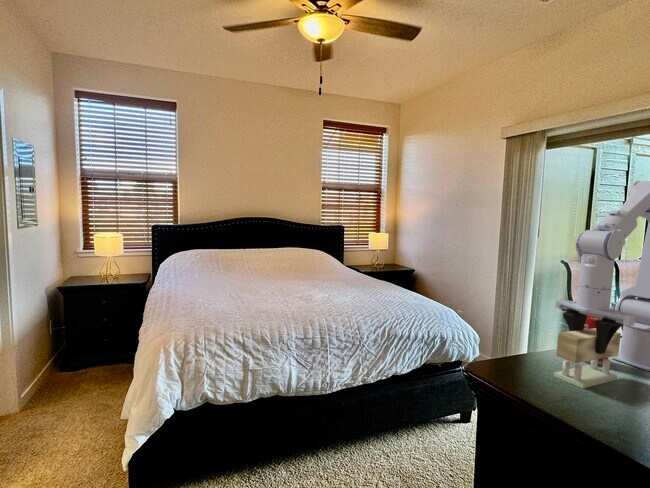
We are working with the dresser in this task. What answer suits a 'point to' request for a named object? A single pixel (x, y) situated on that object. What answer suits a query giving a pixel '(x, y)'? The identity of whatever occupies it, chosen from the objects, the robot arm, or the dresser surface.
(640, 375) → the dresser surface
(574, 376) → the post stand
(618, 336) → the wooden block
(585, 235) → the robot arm
